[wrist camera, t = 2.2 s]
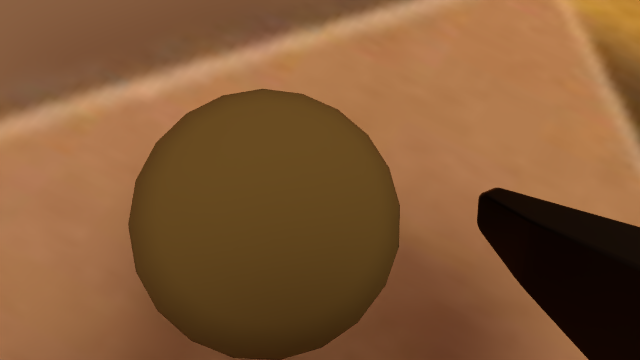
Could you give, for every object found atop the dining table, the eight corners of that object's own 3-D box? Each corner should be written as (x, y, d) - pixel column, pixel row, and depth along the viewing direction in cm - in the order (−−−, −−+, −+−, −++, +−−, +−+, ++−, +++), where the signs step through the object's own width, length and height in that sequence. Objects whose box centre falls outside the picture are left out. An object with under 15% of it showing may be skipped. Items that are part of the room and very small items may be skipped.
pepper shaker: (149, 242, 17) (-12, 179, 7) (269, 149, 19) (295, -22, 8) (248, 365, 17) (245, 505, 6) (363, 259, 18) (517, 228, 8)
